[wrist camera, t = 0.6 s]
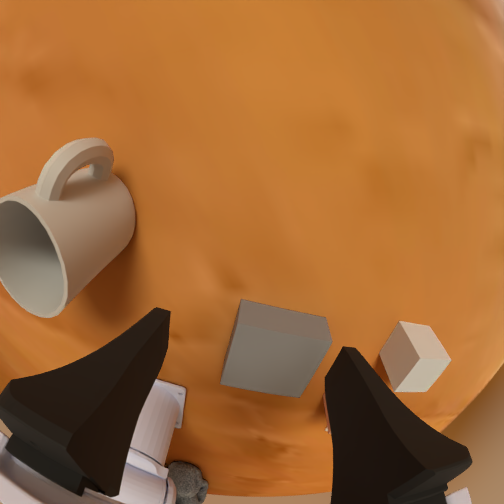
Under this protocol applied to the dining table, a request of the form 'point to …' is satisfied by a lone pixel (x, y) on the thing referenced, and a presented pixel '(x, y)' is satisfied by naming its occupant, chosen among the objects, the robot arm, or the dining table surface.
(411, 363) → the beige block
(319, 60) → the dining table surface
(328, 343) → the grey slab
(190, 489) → the koala plush
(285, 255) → the dining table surface
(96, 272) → the cup
